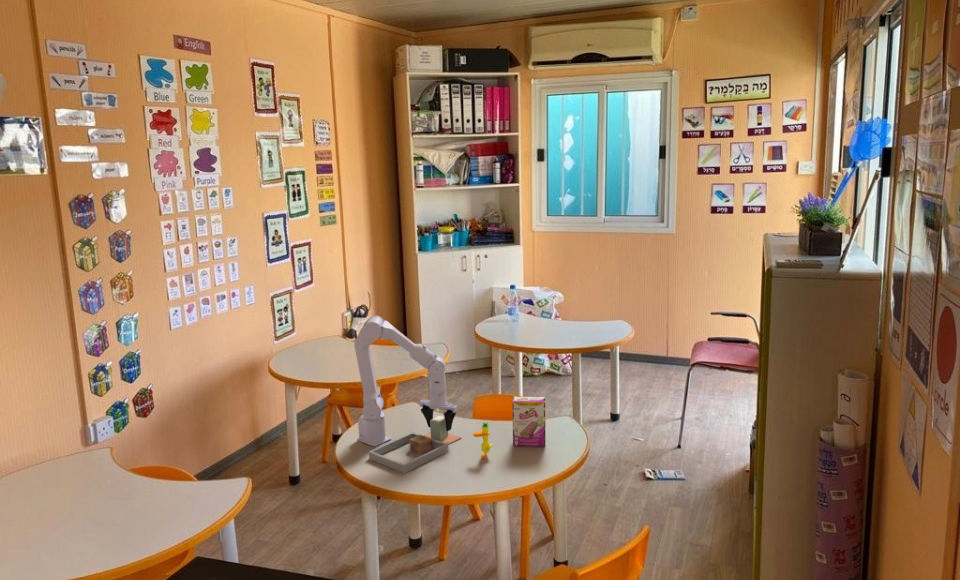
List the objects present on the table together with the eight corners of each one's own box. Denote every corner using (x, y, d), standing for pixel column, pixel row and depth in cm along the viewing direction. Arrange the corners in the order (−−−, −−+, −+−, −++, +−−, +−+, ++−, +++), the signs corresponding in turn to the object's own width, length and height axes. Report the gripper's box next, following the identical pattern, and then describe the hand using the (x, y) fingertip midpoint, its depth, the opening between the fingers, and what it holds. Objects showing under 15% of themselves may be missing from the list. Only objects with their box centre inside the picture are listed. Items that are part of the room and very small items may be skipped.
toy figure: (474, 460, 226) (473, 425, 223) (472, 455, 229) (471, 421, 227) (494, 458, 227) (493, 423, 224) (492, 453, 230) (491, 419, 228)
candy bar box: (512, 447, 235) (511, 401, 231) (513, 440, 240) (512, 396, 236) (546, 447, 234) (545, 401, 230) (546, 441, 238) (545, 396, 235)
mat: (419, 438, 244) (419, 437, 244) (436, 430, 251) (436, 429, 251) (443, 447, 236) (443, 445, 236) (461, 438, 243) (461, 437, 243)
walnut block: (410, 450, 235) (409, 439, 234) (420, 445, 239) (420, 434, 238) (420, 454, 232) (420, 443, 231) (431, 449, 236) (430, 438, 235)
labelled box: (430, 439, 242) (429, 419, 241) (438, 434, 246) (437, 414, 245) (440, 441, 240) (439, 421, 239) (448, 436, 244) (447, 416, 243)
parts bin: (369, 458, 229) (368, 451, 229) (413, 438, 244) (412, 432, 244) (404, 473, 218) (403, 465, 218) (447, 451, 233) (447, 444, 233)
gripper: (414, 392, 240) (416, 428, 243) (449, 398, 233) (451, 436, 236) (425, 385, 246) (427, 421, 249) (460, 391, 239) (461, 428, 242)
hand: (439, 428), depth 243 cm, fingers open, 7 cm apart
